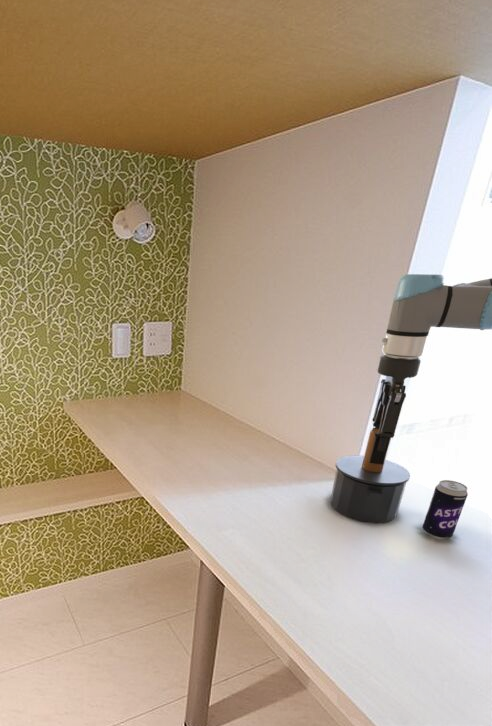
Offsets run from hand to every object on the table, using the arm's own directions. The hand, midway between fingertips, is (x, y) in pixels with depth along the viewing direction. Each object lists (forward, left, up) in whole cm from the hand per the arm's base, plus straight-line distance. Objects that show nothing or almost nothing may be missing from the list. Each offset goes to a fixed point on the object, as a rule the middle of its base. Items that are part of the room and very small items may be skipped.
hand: (374, 458), depth 100 cm
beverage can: (-14, +7, -13) cm, 21 cm away
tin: (0, 0, -13) cm, 13 cm away
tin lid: (0, 0, -3) cm, 3 cm away
